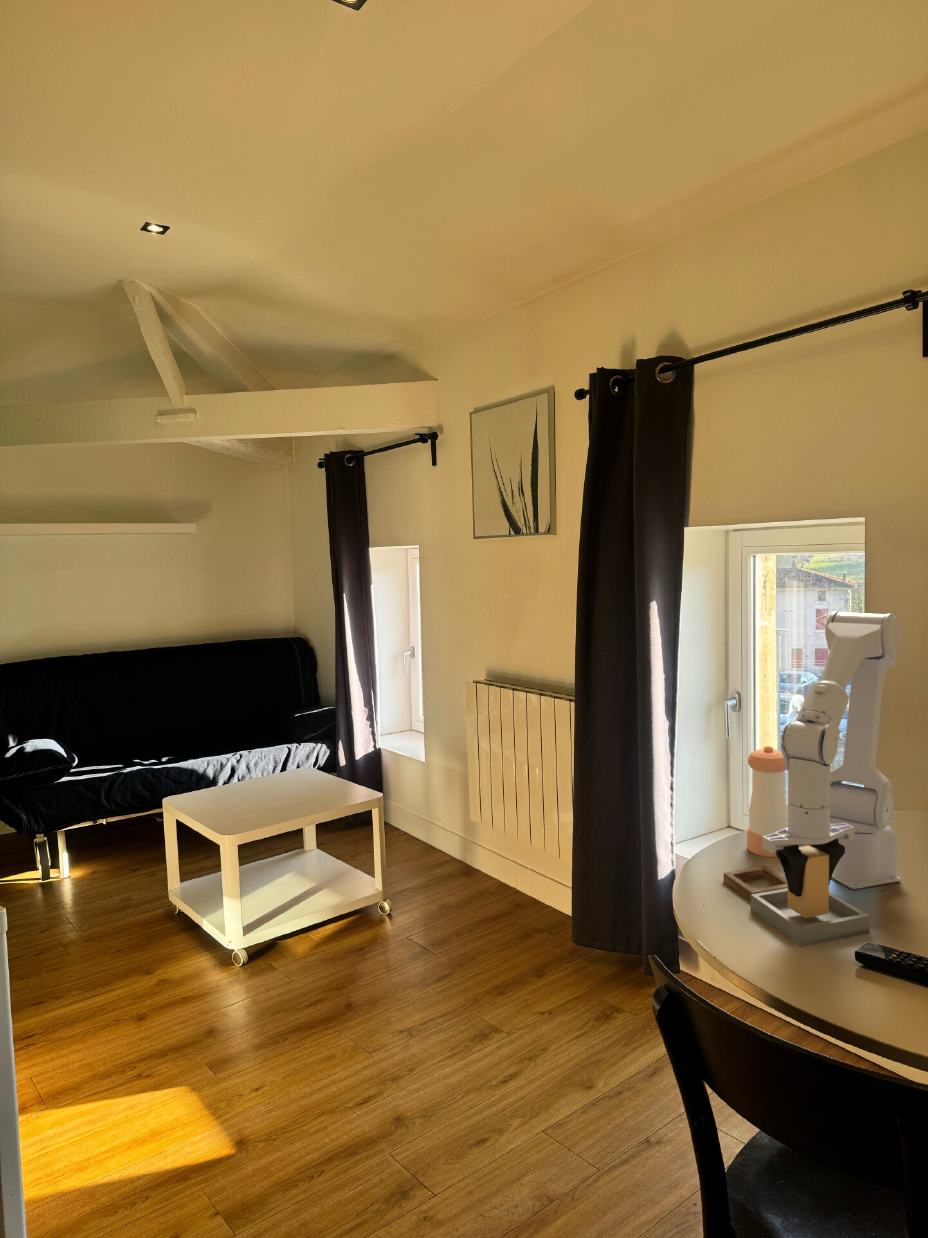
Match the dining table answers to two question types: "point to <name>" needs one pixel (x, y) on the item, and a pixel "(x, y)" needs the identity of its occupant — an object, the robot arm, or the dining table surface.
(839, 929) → the tray
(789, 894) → the tan rectangular block
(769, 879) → the socket collar
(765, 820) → the salt shaker
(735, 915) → the dining table surface
